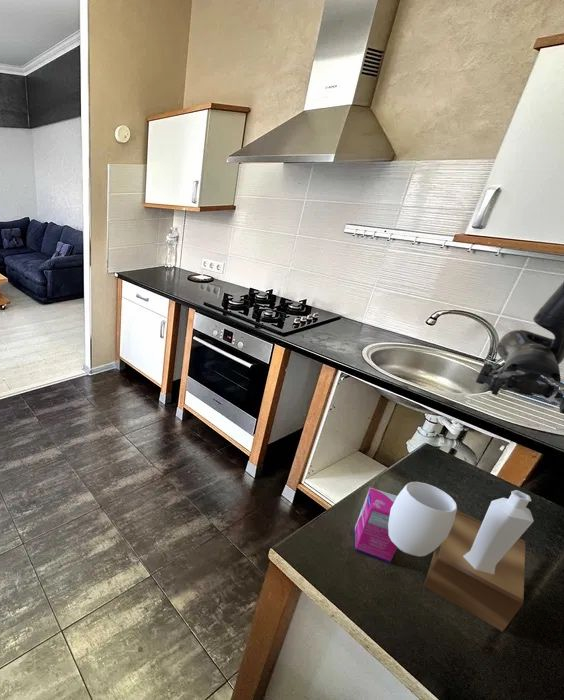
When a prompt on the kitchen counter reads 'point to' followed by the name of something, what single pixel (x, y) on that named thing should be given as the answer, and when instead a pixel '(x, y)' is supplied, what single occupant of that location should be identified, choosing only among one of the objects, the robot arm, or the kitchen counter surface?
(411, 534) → the cup
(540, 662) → the kitchen counter surface
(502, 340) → the robot arm
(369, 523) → the supplement box
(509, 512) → the perfume bottle
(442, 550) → the wood grain block
